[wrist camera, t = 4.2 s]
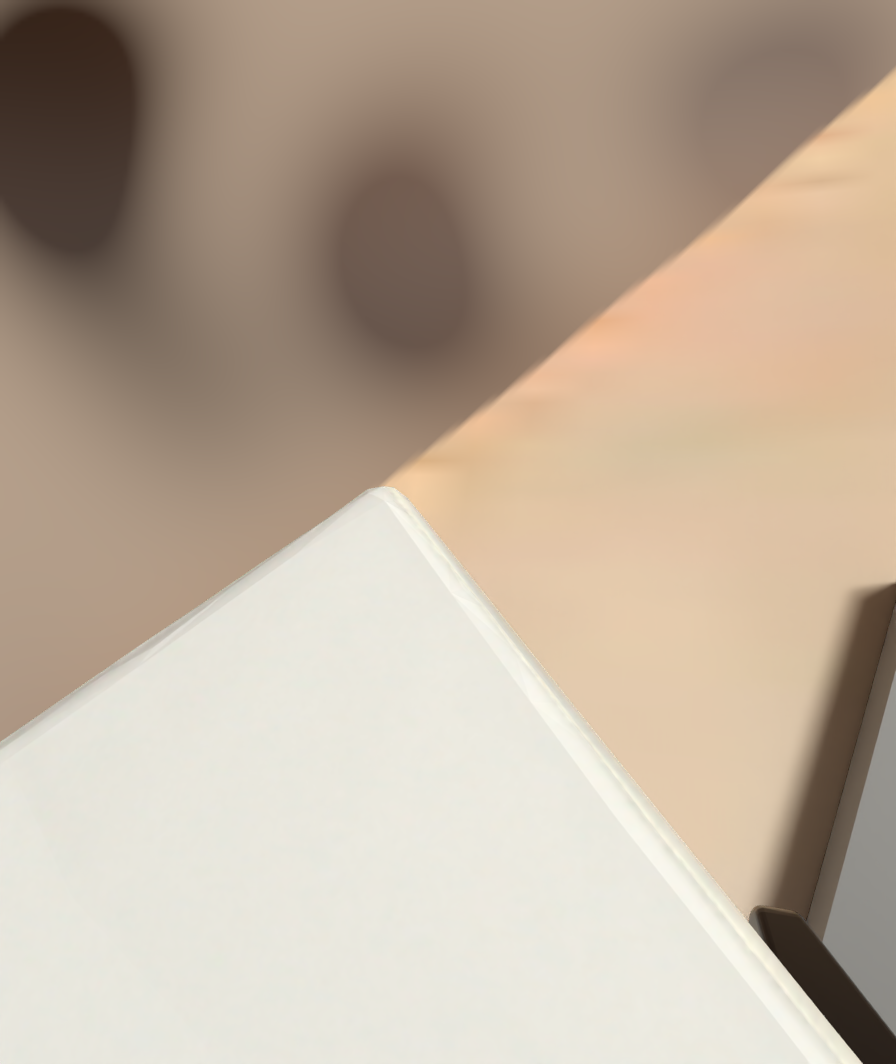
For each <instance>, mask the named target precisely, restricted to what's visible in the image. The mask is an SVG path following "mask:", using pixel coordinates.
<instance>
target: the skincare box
mask: <svg viewBox="0 0 896 1064" xmlns="http://www.w3.org/2000/svg"><path fill="white" fill-rule="evenodd" d="M0 1064H862V1062H861V1061H860V1060H859V1059H858V1057H857V1056H856V1055H855V1054H854V1053H853V1051H852V1050H851V1049H850V1048H849V1046H848V1045H847V1044H846V1043H845V1041H844V1040H843V1039H842V1038H841V1037H840V1035H839V1034H838V1033H837V1032H836V1030H835V1029H834V1028H833V1027H832V1026H831V1024H830V1023H829V1022H828V1021H827V1019H826V1018H825V1017H824V1016H823V1014H822V1013H821V1012H820V1011H819V1009H818V1008H817V1007H816V1006H815V1005H814V1003H813V1002H812V1001H811V1000H810V998H809V997H808V996H807V995H806V993H805V992H804V991H803V990H802V988H801V987H800V986H799V985H798V983H797V982H796V981H795V980H794V978H793V977H792V976H791V975H790V973H789V972H788V971H787V970H786V968H785V967H784V966H783V965H782V964H781V962H780V961H779V960H778V959H777V957H776V956H775V955H774V954H773V952H772V951H771V950H770V949H769V947H768V946H767V945H766V944H765V942H764V941H763V940H762V939H761V937H760V936H759V935H758V934H757V932H756V931H755V930H754V929H753V928H752V926H751V925H750V924H749V923H748V921H747V920H746V919H745V918H744V916H743V915H742V914H741V913H740V911H739V910H738V909H737V908H736V906H735V905H734V904H733V903H732V901H731V900H730V899H729V898H728V896H727V895H726V894H725V893H724V891H723V890H722V889H721V888H720V887H719V885H718V884H717V883H716V882H715V880H714V879H713V878H712V877H711V875H710V874H709V873H708V872H707V870H706V869H705V868H704V867H703V865H702V864H701V863H700V862H699V860H698V859H697V858H696V857H695V855H694V854H693V853H692V852H691V850H690V849H689V848H688V847H687V846H686V844H685V843H684V842H683V841H682V839H681V838H680V837H679V836H678V834H677V833H676V832H675V831H674V829H673V828H672V827H671V826H670V824H669V823H668V822H667V821H666V819H665V818H664V817H663V816H662V814H661V813H660V812H659V811H658V810H657V808H656V807H655V806H654V805H653V803H652V802H651V801H650V800H649V798H648V797H647V796H646V795H645V793H644V792H643V791H642V790H641V788H640V787H639V786H638V785H637V783H636V782H635V781H634V780H633V778H632V777H631V776H630V775H629V773H628V772H627V771H626V770H625V769H624V767H623V766H622V765H621V764H620V762H619V761H618V760H617V759H616V757H615V756H614V755H613V754H612V752H611V751H610V750H609V749H608V747H607V746H606V745H605V744H604V742H603V741H602V740H601V739H600V737H599V736H598V735H597V734H596V733H595V731H594V730H593V729H592V728H591V726H590V725H589V724H588V723H587V721H586V720H585V719H584V718H583V716H582V715H581V714H580V713H579V711H578V710H577V709H576V708H575V706H574V705H573V704H572V703H571V701H570V700H569V699H568V698H567V696H566V695H565V694H564V693H563V691H562V690H561V689H560V688H559V686H558V685H557V684H556V683H555V681H554V680H553V679H552V678H551V676H550V675H549V674H548V673H547V671H546V670H545V669H544V668H543V666H542V665H541V664H540V663H539V661H538V660H537V659H536V658H535V656H534V655H533V654H532V653H531V651H530V650H529V649H528V648H527V646H526V645H525V644H524V643H523V641H522V640H521V639H520V638H519V636H518V635H517V634H516V633H515V631H514V630H513V629H512V628H511V626H510V625H509V624H508V623H507V621H506V620H505V619H504V618H503V616H502V615H501V614H500V613H499V611H498V610H497V609H496V608H495V606H494V605H493V604H492V603H491V601H490V600H489V599H488V598H487V596H486V595H485V594H484V593H483V591H482V590H481V589H480V588H479V586H478V585H477V584H476V583H475V581H474V580H473V579H472V578H471V576H470V575H469V574H468V573H467V571H466V570H465V569H464V568H463V566H462V565H461V564H460V563H459V561H458V560H457V559H456V558H455V556H454V555H453V554H452V552H451V551H450V550H449V549H448V547H447V546H446V545H445V544H444V542H443V541H442V540H441V539H440V537H439V536H438V535H437V534H436V532H435V531H434V530H433V529H432V527H431V526H430V525H429V524H428V522H427V521H426V520H425V519H424V517H423V516H422V515H421V514H420V513H419V511H418V510H417V509H416V508H415V507H414V505H413V504H412V503H411V502H410V500H409V499H408V498H407V497H406V496H404V495H403V494H402V493H400V492H399V491H398V490H396V489H395V488H394V487H384V486H383V487H378V488H372V489H368V490H366V491H364V492H363V493H362V494H360V495H359V496H358V497H356V498H355V499H354V500H352V501H351V502H349V503H348V504H347V505H346V506H344V507H343V508H341V509H340V510H339V511H337V512H336V513H334V514H333V515H332V516H330V517H329V518H327V519H326V520H324V521H323V522H321V523H320V524H318V525H317V526H315V527H314V528H312V529H311V530H310V531H308V532H306V533H305V534H303V535H302V536H300V537H299V538H297V539H296V540H295V541H293V542H291V543H290V544H288V545H287V546H285V547H284V548H283V549H281V550H280V551H278V552H277V553H275V554H274V555H272V556H271V557H269V558H268V559H266V560H265V561H263V562H262V563H260V564H259V565H257V566H256V567H255V568H253V569H252V570H250V571H249V572H247V573H246V574H244V575H243V576H241V577H240V578H239V579H237V580H236V581H234V582H233V583H231V584H230V585H228V586H227V587H225V588H224V589H223V590H221V591H220V592H218V593H217V594H215V595H214V596H212V597H211V598H209V599H208V600H206V601H205V602H204V603H202V604H201V605H199V606H198V607H196V608H195V609H193V610H192V611H190V612H189V613H187V614H186V615H184V616H183V617H181V618H180V619H178V620H177V621H175V622H174V623H173V624H171V625H169V626H168V627H166V628H165V629H163V630H162V631H161V632H159V633H157V634H156V635H155V636H153V637H151V638H150V639H148V640H147V641H146V642H144V643H143V644H141V645H140V646H138V647H137V648H135V649H134V650H132V651H131V652H129V653H128V654H127V655H125V656H124V657H122V658H121V659H119V660H118V661H116V662H115V663H113V664H112V665H111V666H109V667H108V668H106V669H105V670H104V671H102V672H100V673H99V674H98V675H96V676H95V677H93V678H92V679H90V680H89V681H87V682H86V683H85V684H83V685H82V686H80V687H79V688H77V689H76V690H74V691H73V692H72V693H70V694H69V695H67V696H66V697H65V698H63V699H61V700H60V701H59V702H57V703H56V704H54V705H53V706H51V707H50V708H49V709H47V710H46V711H44V712H43V713H41V714H40V715H39V716H37V717H36V718H34V719H33V720H31V721H30V722H28V723H27V724H25V725H24V726H22V727H21V728H20V729H18V730H17V731H15V732H14V733H12V734H11V735H9V736H8V737H7V738H5V739H4V740H2V741H1V742H0Z"/></svg>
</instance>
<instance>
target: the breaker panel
mask: <svg viewBox="0 0 896 1064" xmlns="http://www.w3.org/2000/svg"><path fill="white" fill-rule="evenodd" d="M806 922H807V923H808V925H809V926H810V927H811V928H812V930H813V931H814V932H815V934H816V935H817V936H818V937H819V939H820V940H821V941H822V942H823V944H824V945H825V946H826V948H827V949H828V950H829V951H830V953H831V954H832V955H833V957H834V958H835V959H836V960H837V962H838V963H839V964H840V966H841V967H842V968H843V969H844V971H845V972H846V973H847V974H848V976H849V977H850V978H851V980H852V981H853V982H854V983H855V985H856V986H857V987H858V989H859V990H860V991H861V992H862V994H863V995H864V996H865V997H866V999H867V1000H868V1001H869V1003H870V1004H871V1005H872V1006H873V1008H874V1009H875V1010H876V1012H877V1013H878V1014H879V1015H880V1017H881V1018H882V1019H883V1021H884V1022H885V1023H886V1024H887V1026H888V1027H889V1028H890V1029H891V1031H892V1032H893V1033H894V1035H895V1036H896V602H895V606H894V609H893V613H892V616H891V620H890V624H889V627H888V631H887V634H886V638H885V642H884V645H883V649H882V652H881V656H880V659H879V663H878V667H877V670H876V674H875V677H874V681H873V685H872V688H871V692H870V695H869V699H868V703H867V706H866V710H865V713H864V717H863V720H862V724H861V728H860V731H859V735H858V738H857V742H856V746H855V749H854V753H853V756H852V760H851V764H850V767H849V771H848V774H847V778H846V781H845V785H844V789H843V792H842V796H841V799H840V803H839V807H838V810H837V814H836V817H835V821H834V825H833V828H832V832H831V835H830V839H829V842H828V846H827V850H826V853H825V857H824V860H823V864H822V868H821V871H820V875H819V878H818V882H817V886H816V889H815V893H814V896H813V900H812V903H811V907H810V911H809V914H808V918H807V921H806Z"/></svg>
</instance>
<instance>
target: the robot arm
mask: <svg viewBox="0 0 896 1064" xmlns="http://www.w3.org/2000/svg"><path fill="white" fill-rule="evenodd" d="M748 923H749V924H750V925H751V926H752V928H753V929H754V930H755V931H756V932H757V934H758V935H759V936H760V937H761V939H762V940H763V941H764V942H765V944H766V945H767V946H768V947H769V949H770V950H771V951H772V952H773V954H774V955H775V956H776V957H777V959H778V960H779V961H780V962H781V964H782V965H783V966H784V967H785V968H786V970H787V971H788V972H789V973H790V975H791V976H792V977H793V978H794V980H795V981H796V982H797V983H798V985H799V986H800V987H801V988H802V990H803V991H804V992H805V993H806V995H807V996H808V997H809V998H810V1000H811V1001H812V1002H813V1003H814V1005H815V1006H816V1007H817V1008H818V1009H819V1011H820V1012H821V1013H822V1014H823V1016H824V1017H825V1018H826V1019H827V1021H828V1022H829V1023H830V1024H831V1026H832V1027H833V1028H834V1029H835V1030H836V1032H837V1033H838V1034H839V1035H840V1037H841V1038H842V1039H843V1040H844V1041H845V1043H846V1044H847V1045H848V1046H849V1048H850V1049H851V1050H852V1051H853V1053H854V1054H855V1055H856V1056H857V1057H858V1059H859V1060H860V1061H861V1062H862V1064H896V1036H895V1035H894V1033H893V1032H892V1031H891V1029H890V1028H889V1027H888V1026H887V1024H886V1023H885V1022H884V1021H883V1019H882V1018H881V1017H880V1015H879V1014H878V1013H877V1012H876V1010H875V1009H874V1008H873V1006H872V1005H871V1004H870V1003H869V1001H868V1000H867V999H866V997H865V996H864V995H863V994H862V992H861V991H860V990H859V989H858V987H857V986H856V985H855V983H854V982H853V981H852V980H851V978H850V977H849V976H848V974H847V973H846V972H845V971H844V969H843V968H842V967H841V966H840V964H839V963H838V962H837V960H836V959H835V958H834V957H833V955H832V954H831V953H830V951H829V950H828V949H827V948H826V946H825V945H824V944H823V942H822V941H821V940H820V939H819V937H818V936H817V935H816V934H815V932H814V931H813V930H812V928H811V927H810V926H809V925H808V923H807V922H806V921H805V919H804V918H803V917H802V916H801V915H799V914H798V913H797V912H795V911H792V910H786V909H780V908H774V907H768V906H756V907H754V908H753V910H752V911H751V913H750V917H749V922H748Z"/></svg>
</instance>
